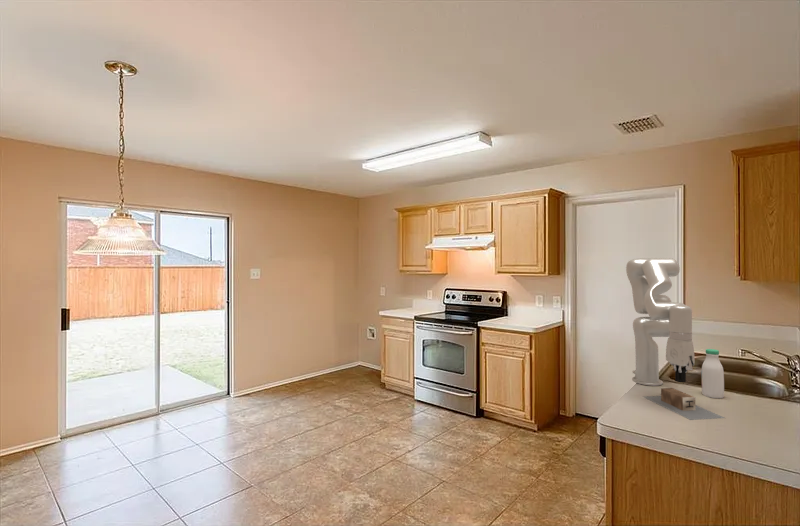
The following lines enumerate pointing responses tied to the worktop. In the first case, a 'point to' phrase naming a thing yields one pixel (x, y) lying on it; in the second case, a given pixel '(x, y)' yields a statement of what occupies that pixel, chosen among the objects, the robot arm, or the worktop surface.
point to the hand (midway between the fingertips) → (680, 381)
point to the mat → (691, 414)
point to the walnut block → (678, 399)
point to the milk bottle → (712, 375)
